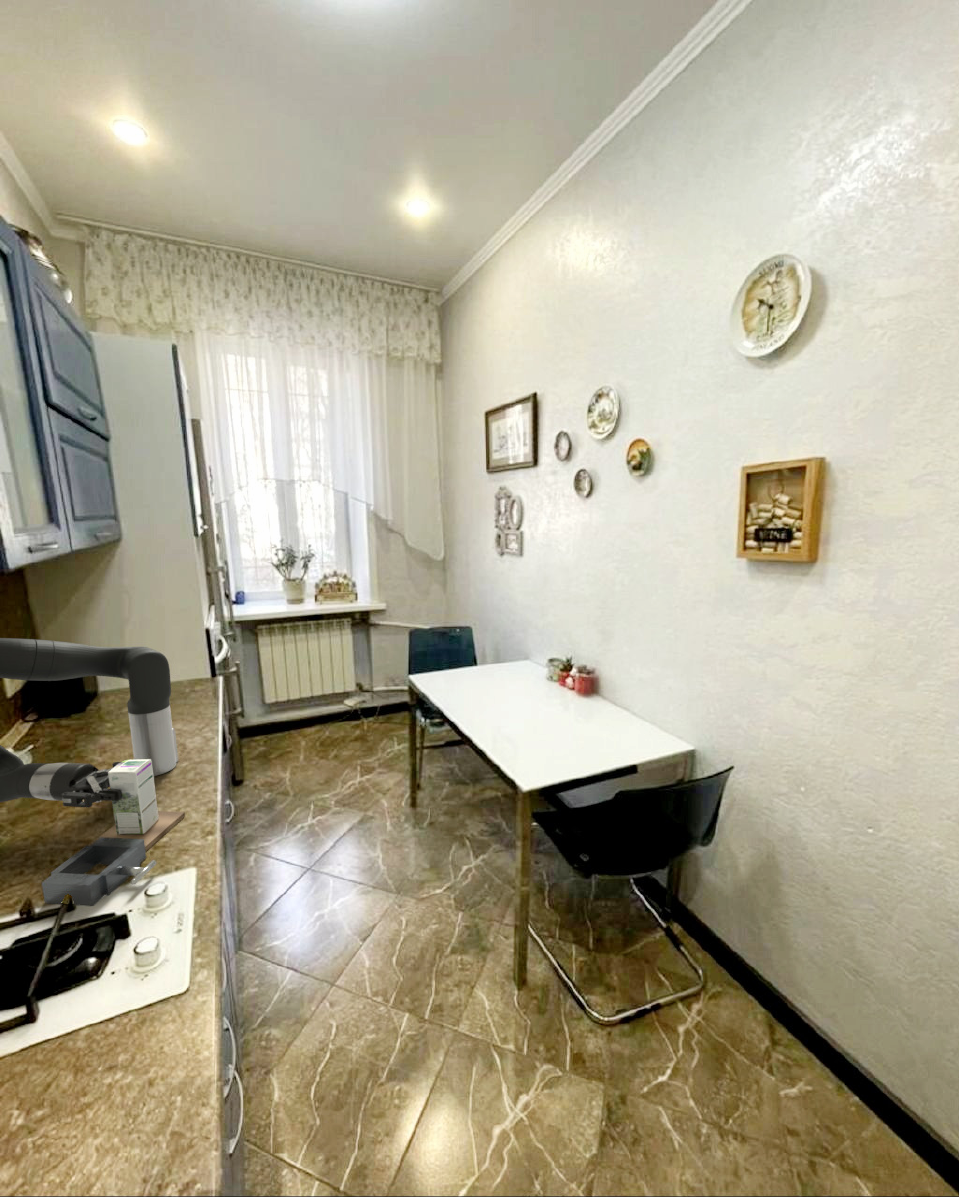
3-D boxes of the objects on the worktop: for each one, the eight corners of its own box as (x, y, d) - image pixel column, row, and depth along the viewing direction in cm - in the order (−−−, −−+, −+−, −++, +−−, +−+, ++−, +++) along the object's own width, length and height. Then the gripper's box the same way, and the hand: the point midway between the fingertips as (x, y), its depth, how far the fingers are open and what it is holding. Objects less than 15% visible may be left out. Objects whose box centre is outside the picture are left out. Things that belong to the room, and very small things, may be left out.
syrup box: (160, 819, 109) (152, 757, 107) (143, 835, 104) (135, 771, 101) (133, 819, 109) (126, 758, 107) (115, 836, 103) (106, 771, 101)
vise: (100, 855, 99) (97, 837, 99) (171, 858, 98) (169, 840, 97) (40, 903, 87) (37, 882, 86) (121, 907, 86) (118, 887, 85)
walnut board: (134, 814, 113) (134, 810, 113) (184, 816, 112) (184, 812, 112) (90, 848, 101) (89, 844, 101) (145, 851, 100) (145, 847, 100)
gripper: (29, 782, 98) (106, 785, 97) (90, 749, 113) (158, 752, 111) (35, 817, 100) (111, 820, 98) (94, 780, 114) (162, 783, 112)
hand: (136, 784), depth 105 cm, fingers open, 8 cm apart
